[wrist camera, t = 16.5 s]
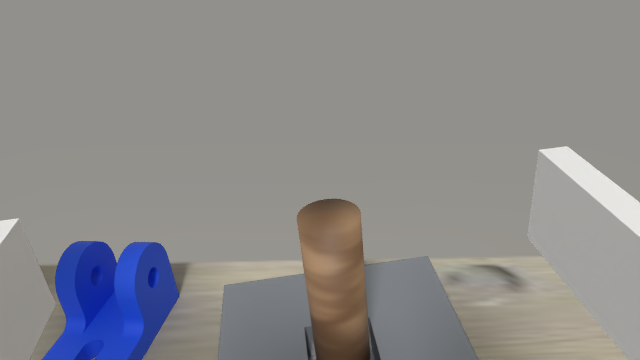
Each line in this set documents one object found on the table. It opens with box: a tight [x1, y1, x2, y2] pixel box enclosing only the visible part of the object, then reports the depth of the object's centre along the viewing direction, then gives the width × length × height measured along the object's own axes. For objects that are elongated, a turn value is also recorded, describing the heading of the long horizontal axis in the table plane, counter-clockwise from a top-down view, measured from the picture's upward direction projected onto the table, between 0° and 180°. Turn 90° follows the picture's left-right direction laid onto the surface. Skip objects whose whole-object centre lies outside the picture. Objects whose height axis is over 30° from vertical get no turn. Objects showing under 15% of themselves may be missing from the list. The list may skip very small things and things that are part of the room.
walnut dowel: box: [297, 199, 371, 360], centre depth 40 cm, size 4×4×16 cm
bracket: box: [42, 241, 179, 360], centre depth 48 cm, size 18×8×9 cm, turn 171°
